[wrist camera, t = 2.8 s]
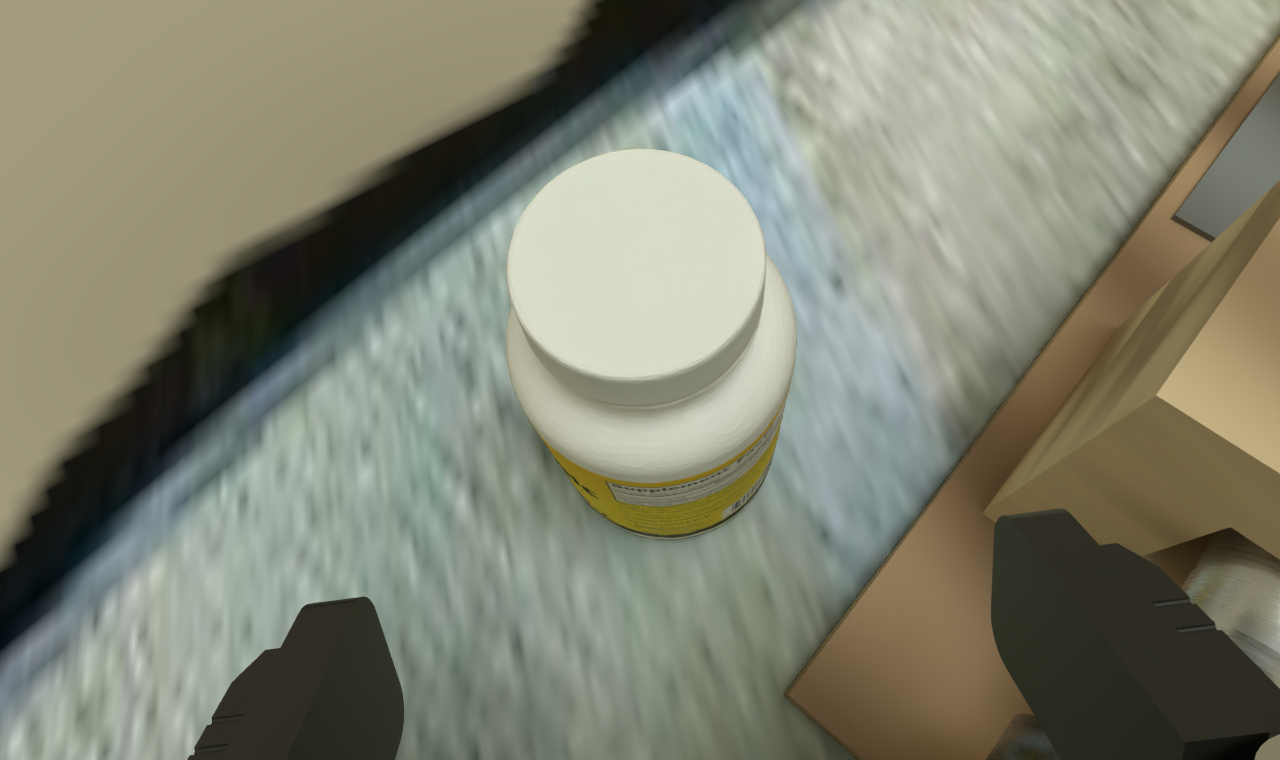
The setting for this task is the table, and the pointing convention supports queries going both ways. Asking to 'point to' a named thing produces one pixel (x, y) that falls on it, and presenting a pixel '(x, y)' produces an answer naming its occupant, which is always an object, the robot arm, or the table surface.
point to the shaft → (1229, 594)
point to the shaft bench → (948, 551)
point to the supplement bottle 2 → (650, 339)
